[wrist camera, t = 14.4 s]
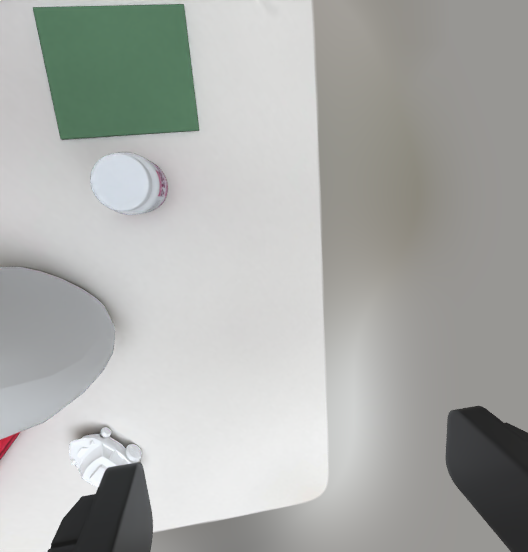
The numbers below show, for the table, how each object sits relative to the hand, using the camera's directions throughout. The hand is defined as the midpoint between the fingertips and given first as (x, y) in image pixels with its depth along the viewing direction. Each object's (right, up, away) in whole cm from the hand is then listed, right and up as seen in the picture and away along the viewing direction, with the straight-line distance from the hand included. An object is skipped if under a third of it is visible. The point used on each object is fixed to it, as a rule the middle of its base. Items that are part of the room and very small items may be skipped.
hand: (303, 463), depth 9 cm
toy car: (-18, -14, +29) cm, 37 cm away
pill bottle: (-12, +13, +24) cm, 30 cm away
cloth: (-13, +22, +21) cm, 34 cm away
